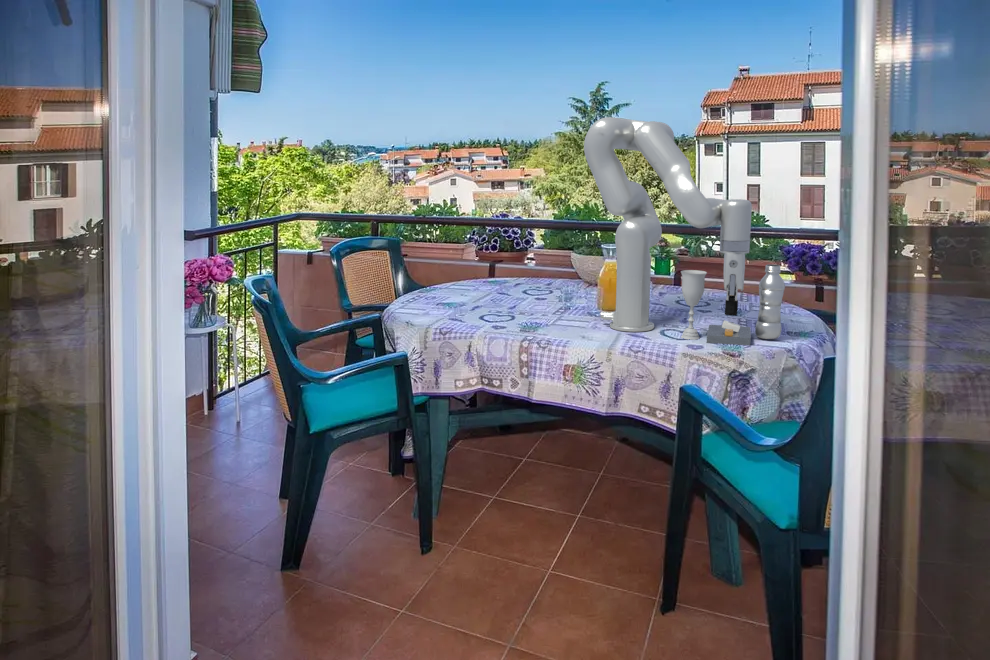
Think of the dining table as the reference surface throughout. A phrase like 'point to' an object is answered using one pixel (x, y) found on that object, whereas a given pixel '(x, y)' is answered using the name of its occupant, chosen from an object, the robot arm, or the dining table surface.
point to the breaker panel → (728, 335)
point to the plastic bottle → (770, 303)
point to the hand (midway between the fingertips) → (730, 314)
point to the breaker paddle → (730, 326)
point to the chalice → (692, 297)
